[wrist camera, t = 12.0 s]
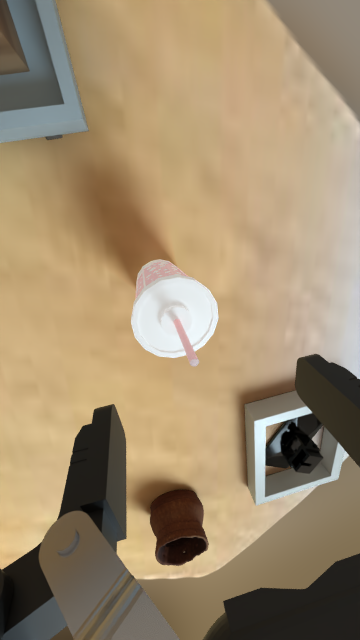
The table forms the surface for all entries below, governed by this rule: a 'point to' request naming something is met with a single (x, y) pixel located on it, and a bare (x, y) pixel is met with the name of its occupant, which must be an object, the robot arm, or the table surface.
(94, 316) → the table surface
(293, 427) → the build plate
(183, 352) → the beverage cup
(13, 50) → the walnut block
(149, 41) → the table surface
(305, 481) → the light grey tray
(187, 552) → the ceramic pot
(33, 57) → the light blue tray
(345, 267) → the table surface
